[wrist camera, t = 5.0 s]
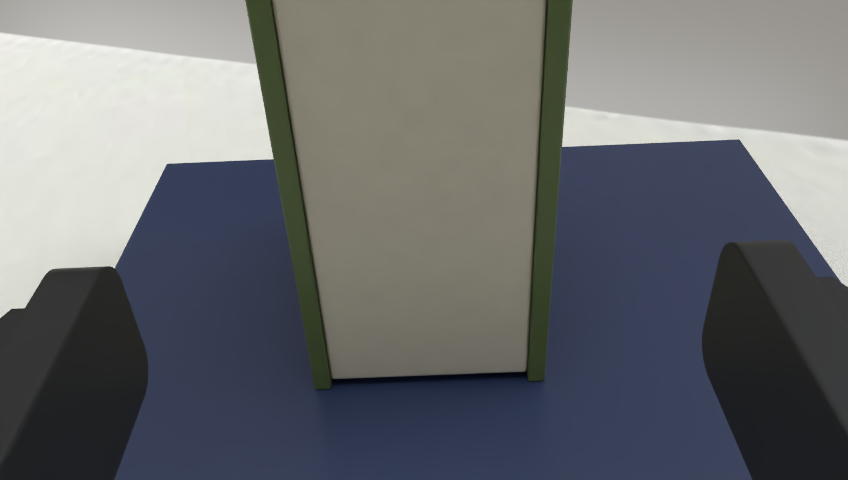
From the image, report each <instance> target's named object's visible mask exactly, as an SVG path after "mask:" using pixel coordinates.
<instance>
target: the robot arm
mask: <svg viewBox="0 0 848 480" xmlns="http://www.w3.org/2000/svg"><path fill="white" fill-rule="evenodd" d="M702 353H703V360H704V365H705V369H706V372H707V375H708V377H709V380H710V382H711V384H712V387H713V389H714V391H715V394H716V396H717V398H718V401H719V403H720V405H721V408H722V410H723V412H724V415H725V417H726V419H727V422H728V424H729V426H730V429H731V431H732V433H733V436H734V438H735V440H736V443H737V445H738V447H739V450H740V452H741V454H742V457H743V459H744V461H745V464H746V466H747V468H748V471H749V473H750V475H751V478H752V480H848V287H846V286H845V285H844V284H842V283H841V282H839V281H838V280H837V279H835V278H834V277H816V275H815V274H814V272H813V271H812V269H811V268H810V267H809V265H808V264H807V262H806V261H805V259H804V258H803V256H802V255H801V253H800V252H799V250H798V249H797V247H796V246H795V245H794V244H793V243H792V242H791V241H789V240H765V241H741V242H728V243H727V244H725V245H724V247H723V249H722V251H721V253H720V257H719V261H718V265H717V270H716V274H715V278H714V283H713V287H712V291H711V295H710V300H709V304H708V308H707V313H706V317H705V321H704V326H703V331H702ZM147 384H148V358H147V353H146V349H145V346H144V343H143V340H142V337H141V334H140V331H139V329H138V326H137V323H136V320H135V317H134V314H133V311H132V308H131V306H130V303H129V300H128V297H127V294H126V291H125V288H124V286H123V283H122V280H121V278H120V275H119V274H118V272H117V271H116V270H115V269H114V268H113V267H110V266H109V267H86V268H62V269H52V270H50V271H49V272H48V273H47V274H46V275H45V276H44V278H43V279H42V281H41V283H40V284H39V286H38V288H37V289H36V291H35V293H34V294H33V296H32V298H31V299H30V301H29V303H28V304H27V306H26V307H25V308H24V309H11V310H10V311H9V312H7V313H6V314H5V315H4V316H3V317H1V318H0V480H114V479H115V476H116V473H117V471H118V468H119V465H120V463H121V460H122V457H123V454H124V452H125V449H126V446H127V443H128V441H129V438H130V435H131V433H132V430H133V427H134V424H135V422H136V419H137V416H138V413H139V411H140V408H141V405H142V402H143V400H144V397H145V394H146V389H147Z"/></svg>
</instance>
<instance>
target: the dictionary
mask: <svg viewBox="0 0 848 480" xmlns="http://www.w3.org/2000/svg"><path fill="white" fill-rule="evenodd" d="M245 1H246V7H247V12H248V17H249V23H250V29H251V34H252V40H253V45H254V51H255V56H256V62H257V68H258V74H259V79H260V85H261V91H262V96H263V102H264V107H265V113H266V119H267V124H268V130H269V136H270V141H271V147H272V152H273V158H274V164H275V169H276V175H277V180H278V186H279V192H280V197H281V203H282V208H283V214H284V220H285V225H286V231H287V236H288V242H289V248H290V253H291V259H292V264H293V270H294V276H295V281H296V287H297V292H298V298H299V304H300V309H301V315H302V320H303V326H304V332H305V337H306V343H307V348H308V354H309V360H310V365H311V371H312V376H313V382H314V388H315V389H316V390H322V389H331V387H332V378H333V379H350V378H376V377H401V376H427V375H453V374H478V373H504V372H524V371H526V372H527V378H528V381H544V380H545V370H546V356H547V342H548V329H549V315H550V301H551V288H552V274H553V261H554V247H555V233H556V220H557V206H558V192H559V179H560V165H561V152H562V138H563V124H564V111H565V97H566V83H567V70H568V56H569V43H570V42H569V41H570V29H571V15H572V2H573V0H245Z"/></svg>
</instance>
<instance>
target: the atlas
mask: <svg viewBox="0 0 848 480" xmlns="http://www.w3.org/2000/svg"><path fill="white" fill-rule="evenodd" d="M765 240H789V241H791V242H792V243H793V244H794V245H795V246H796V247H797V249H798V250H799V252H800V253H801V255H802V256H803V258H804V259H805V261H806V262H807V264H808V265H809V267H810V268H811V269H812V271H813V272H814V274H815V275H816V277H834V278H835V279H837V280H838V281H839V282H840V280H839V279H838V278H837V276H836V275H835V273H834V272H833V271H832V269H831V268H830V266H829V265H828V264H827V262H826V261H825V259H824V258H823V256H822V255H821V254H820V252H819V251H818V249H817V248H816V247H815V245H814V244H813V242H812V241H811V240H810V238H809V237H808V235H807V234H806V233H805V231H804V230H803V228H802V227H801V226H800V224H799V223H798V221H797V220H796V219H795V217H794V216H793V214H792V213H791V212H790V210H789V209H788V207H787V206H786V204H785V203H784V202H783V200H782V199H781V197H780V196H779V195H778V193H777V192H776V190H775V189H774V188H773V186H772V185H771V183H770V182H769V181H768V179H767V178H766V176H765V175H764V174H763V172H762V171H761V169H760V168H759V167H758V165H757V164H756V162H755V161H754V160H753V158H752V157H751V155H750V154H749V152H748V151H747V150H746V148H745V147H744V145H743V144H742V143H741V141H740V140H718V141H695V142H671V143H648V144H624V145H601V146H577V147H562V152H561V165H560V179H559V192H558V206H557V220H556V233H555V247H554V261H553V274H552V288H551V301H550V315H549V329H548V342H547V356H546V370H545V380H544V381H528V378H527V372H526V371H524V372H504V373H478V374H453V375H427V376H401V377H376V378H350V379H333V378H332V387H331V389H322V390H316V389H315V388H314V382H313V376H312V371H311V365H310V360H309V354H308V348H307V343H306V337H305V332H304V326H303V320H302V315H301V309H300V304H299V298H298V292H297V287H296V281H295V276H294V270H293V264H292V259H291V253H290V248H289V242H288V236H287V231H286V225H285V220H284V214H283V208H282V203H281V197H280V192H279V186H278V180H277V175H276V169H275V164H274V159H272V160H248V161H225V162H201V163H178V164H167V165H166V167H165V169H164V171H163V173H162V175H161V177H160V179H159V181H158V183H157V185H156V187H155V189H154V191H153V193H152V195H151V197H150V199H149V201H148V203H147V205H146V207H145V209H144V211H143V213H142V215H141V217H140V219H139V221H138V223H137V225H136V227H135V229H134V231H133V233H132V235H131V237H130V239H129V241H128V243H127V245H126V247H125V249H124V251H123V253H122V255H121V257H120V259H119V261H118V263H117V265H116V267H115V270H116V271H117V272H118V274H119V275H120V278H121V280H122V283H123V286H124V288H125V291H126V294H127V297H128V300H129V303H130V306H131V308H132V311H133V314H134V317H135V320H136V323H137V326H138V329H139V331H140V334H141V337H142V340H143V343H144V346H145V349H146V353H147V358H148V384H147V389H146V394H145V397H144V400H143V402H142V405H141V408H140V411H139V413H138V416H137V419H136V422H135V424H134V427H133V430H132V433H131V435H130V438H129V441H128V443H127V446H126V449H125V452H124V454H123V457H122V460H121V463H120V465H119V468H118V471H117V473H116V476H115V479H114V480H752V478H751V475H750V473H749V471H748V468H747V466H746V464H745V461H744V459H743V457H742V454H741V452H740V450H739V447H738V445H737V443H736V440H735V438H734V436H733V433H732V431H731V429H730V426H729V424H728V422H727V419H726V417H725V415H724V412H723V410H722V408H721V405H720V403H719V401H718V398H717V396H716V394H715V391H714V389H713V387H712V384H711V382H710V380H709V377H708V375H707V372H706V369H705V365H704V360H703V353H702V331H703V326H704V321H705V317H706V313H707V308H708V304H709V300H710V295H711V291H712V287H713V283H714V278H715V274H716V270H717V265H718V261H719V257H720V253H721V251H722V249H723V247H724V245H725V244H727V243H728V242H741V241H765Z"/></svg>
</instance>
